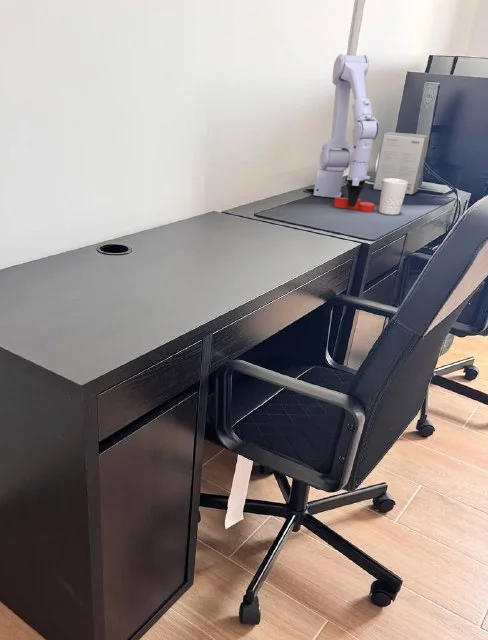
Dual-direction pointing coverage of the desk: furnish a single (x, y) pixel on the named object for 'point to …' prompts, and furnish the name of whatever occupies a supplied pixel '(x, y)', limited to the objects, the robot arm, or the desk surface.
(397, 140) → the hard drive box
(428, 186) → the desk surface
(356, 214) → the desk surface
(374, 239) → the desk surface
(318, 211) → the desk surface
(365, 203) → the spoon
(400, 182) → the white cup
